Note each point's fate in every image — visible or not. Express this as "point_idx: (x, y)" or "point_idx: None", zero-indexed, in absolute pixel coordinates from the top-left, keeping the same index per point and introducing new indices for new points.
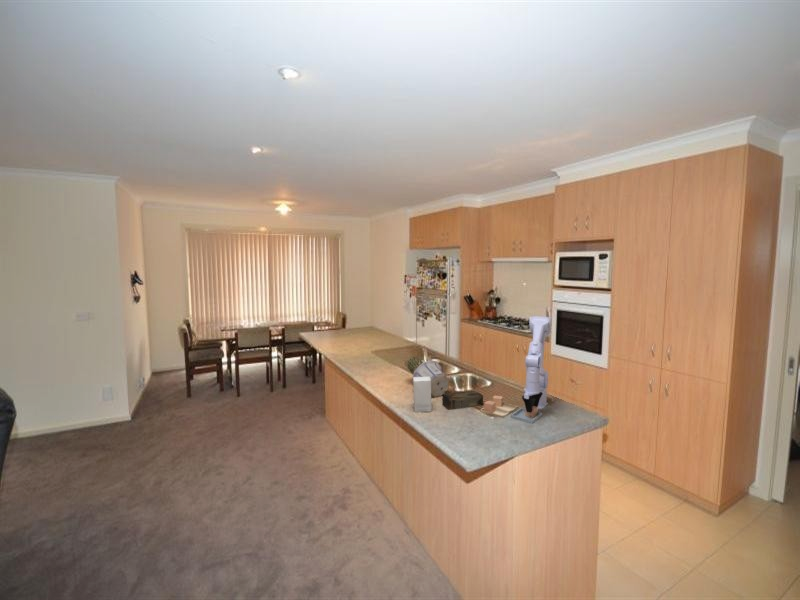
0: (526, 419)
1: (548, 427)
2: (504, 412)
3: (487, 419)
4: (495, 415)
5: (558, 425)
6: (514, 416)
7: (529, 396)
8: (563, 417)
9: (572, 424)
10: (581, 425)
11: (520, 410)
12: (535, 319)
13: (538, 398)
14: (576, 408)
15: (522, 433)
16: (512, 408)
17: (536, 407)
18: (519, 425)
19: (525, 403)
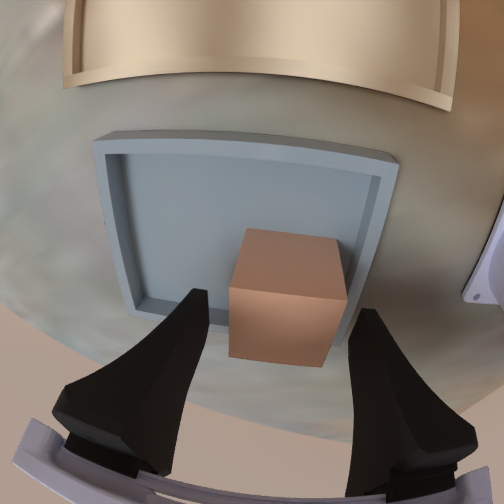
0: (119, 281)
1: None
2: (193, 19)
3: (14, 24)
4: (71, 14)
5: (239, 390)
6: (98, 182)
7: (110, 472)
8: None
9: (291, 417)
10: (299, 430)
11: (332, 163)
12: None
13: (355, 442)
14: (486, 391)
15: (27, 273)
16: (381, 54)
17: (299, 365)
18: (70, 236)
19: (133, 357)
